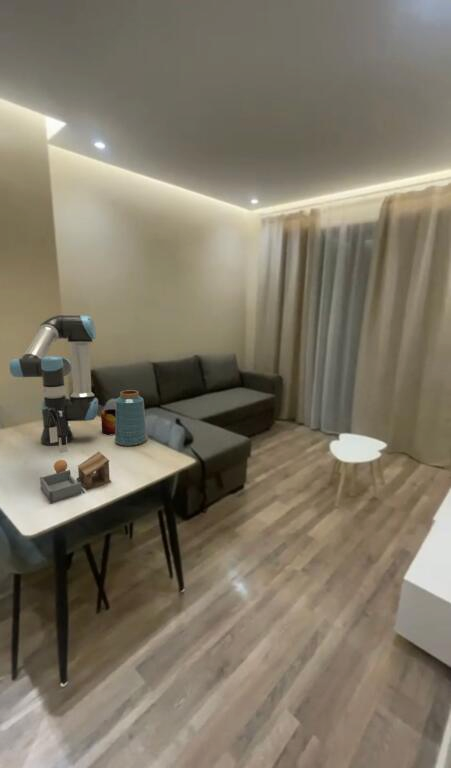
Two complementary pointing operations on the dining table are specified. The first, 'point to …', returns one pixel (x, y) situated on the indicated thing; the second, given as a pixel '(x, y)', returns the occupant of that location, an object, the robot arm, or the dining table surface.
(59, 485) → the bin
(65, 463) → the ball
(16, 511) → the dining table surface
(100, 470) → the wooden cubby
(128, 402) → the vase
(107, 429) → the mug
